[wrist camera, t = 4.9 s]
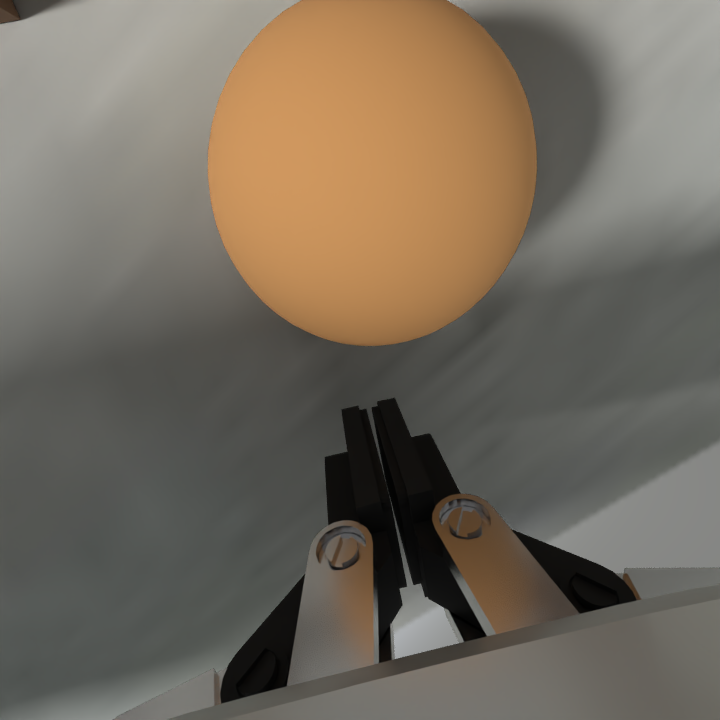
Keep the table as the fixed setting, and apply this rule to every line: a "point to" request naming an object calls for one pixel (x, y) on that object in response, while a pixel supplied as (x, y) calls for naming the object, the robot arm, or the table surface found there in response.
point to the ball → (372, 167)
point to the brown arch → (8, 11)
